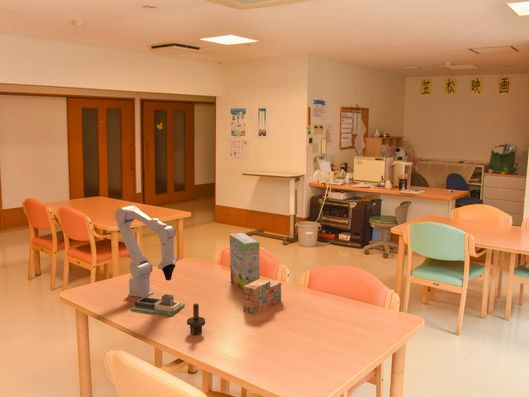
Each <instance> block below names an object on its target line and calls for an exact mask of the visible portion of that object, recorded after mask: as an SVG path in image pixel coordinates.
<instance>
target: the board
mask: <svg viewBox="0 0 529 397" xmlns="http://www.w3.org/2000/svg"><path fill="white" fill-rule="evenodd" d="M134 303H135V304H134V305H133V307H130V311H132V312H138V313H139V312H140V313H145V314H150V315H151V314H152V315H156V316H163V317H172V316H173V315H174V314H177V312H179V311H180V310H181V309H183V308H185V306H186V304H185V303H182V301H181V302H180V301H176V300H174V306H173V307H171V306H164V305H162V298H154V297H148V296H147V297H140V299H137V300H136V301H135V302H134Z"/></svg>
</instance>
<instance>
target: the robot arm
mask: <svg viewBox="0 0 529 397" xmlns="http://www.w3.org/2000/svg"><path fill="white" fill-rule="evenodd" d="M114 218H115V220H116V224H117V228H118V230H119V233H120V235H121V238H122V240H123V243H124V245H125V247H126V250H127V252H128V255H129V257H130V259H131V261H130V263H129V265H128V266H129V268H130V272H129V273H130V275H131V276H130V277H129V280H128V288H129V289H128V291H129V292H128V296H131V297H140V298H143V297H148V296H150V295H152V294H154V293H155V292H154V291H152V290H151V288H150V286H151V282H150V281H151V280H150V276H151V273H152V272H153V269H154V268H153V264H152V263H151V262H150V261H149V259H148V258H147V257H146V256H144V255H143V253H142V252H141V249H140V246H139V243H138V241H137V239H136V237H135V234H134V232H133V230H132V227H131V225H132V223H133V222H134V221H135V220H137V221H138V222H140V223H142V224H143V225H144V224H145V225H146V226H147V228H148V229H149V230H150V231H151V232H153V233H155V234H156V235H158V238H159V240H160V246H161V248H160V249H161V254H160V255H161V261H160V262H159V263H158V264H157V269H158V270H162V272H163V275H164V278H165V280H166V281H171V280H172V276H173V273H174V270H175V267H176V264H177V262H178V257H177V256H175V248H174V247H175V245H174V237H175V236H176V234H177V230H176V228H175V227H174V226H173V225H168V224H166V223H164V222H162V221H160V220H159V218H151V217H149V216H148V215H147V214H145V213H144V212H142V211H141V210H140V209H139V207H137V206H136V205H134V204H131V205H127V206H123V207H118V208H116V210H115V212H114Z"/></svg>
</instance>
